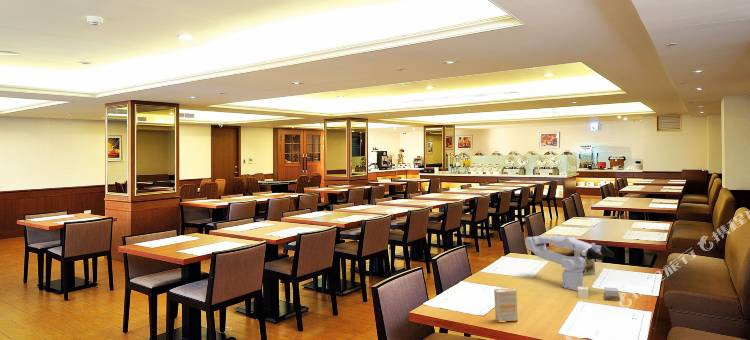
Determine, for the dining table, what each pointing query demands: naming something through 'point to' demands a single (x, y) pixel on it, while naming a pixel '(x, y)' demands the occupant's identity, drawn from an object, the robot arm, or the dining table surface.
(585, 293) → the cream cube
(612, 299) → the walnut slab
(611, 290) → the grey slab
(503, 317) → the supplement box
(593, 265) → the coffee box
